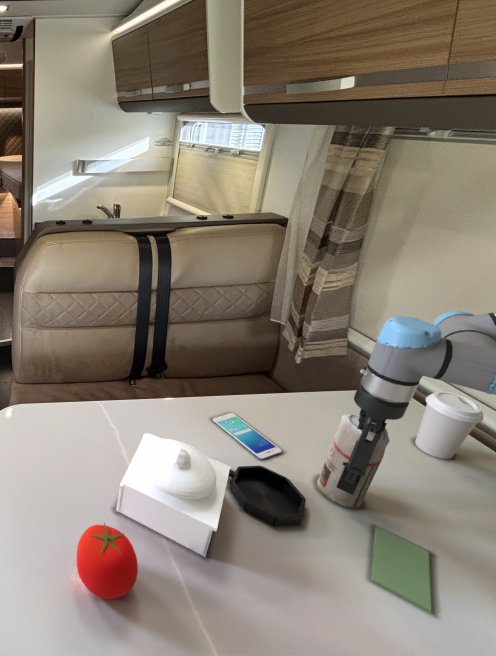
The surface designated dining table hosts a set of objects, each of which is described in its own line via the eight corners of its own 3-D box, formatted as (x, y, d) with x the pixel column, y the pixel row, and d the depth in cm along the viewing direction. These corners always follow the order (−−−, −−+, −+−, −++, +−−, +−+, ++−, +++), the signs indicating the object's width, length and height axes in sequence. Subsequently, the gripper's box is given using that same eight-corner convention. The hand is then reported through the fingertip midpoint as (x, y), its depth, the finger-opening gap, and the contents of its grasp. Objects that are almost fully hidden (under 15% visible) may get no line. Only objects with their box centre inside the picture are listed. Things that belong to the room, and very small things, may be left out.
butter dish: (140, 459, 104) (148, 407, 98) (222, 495, 94) (237, 440, 88) (115, 512, 91) (123, 455, 85) (207, 561, 81) (224, 501, 75)
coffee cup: (458, 472, 99) (486, 421, 94) (403, 449, 106) (426, 400, 100) (461, 451, 105) (487, 402, 99) (409, 430, 112) (431, 383, 106)
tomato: (138, 617, 72) (146, 575, 68) (75, 605, 74) (79, 564, 70) (129, 556, 82) (136, 517, 78) (73, 547, 84) (77, 508, 80)
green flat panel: (428, 555, 81) (430, 551, 81) (431, 616, 72) (434, 612, 72) (373, 529, 87) (375, 525, 86) (370, 582, 77) (371, 579, 77)
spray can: (323, 470, 100) (347, 403, 91) (367, 493, 94) (398, 424, 85) (309, 491, 95) (334, 423, 87) (355, 517, 89) (386, 446, 81)
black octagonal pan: (305, 497, 93) (309, 486, 92) (294, 539, 85) (299, 528, 83) (200, 447, 107) (203, 437, 106) (182, 479, 98) (184, 468, 97)
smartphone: (232, 412, 118) (283, 450, 105) (231, 414, 118) (282, 453, 105) (211, 418, 115) (261, 459, 102) (210, 421, 116) (260, 461, 103)
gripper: (363, 361, 92) (331, 441, 101) (354, 410, 78) (318, 498, 87) (410, 375, 88) (373, 457, 96) (409, 430, 74) (365, 521, 82)
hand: (347, 476), depth 92 cm, fingers closed on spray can, 8 cm apart
